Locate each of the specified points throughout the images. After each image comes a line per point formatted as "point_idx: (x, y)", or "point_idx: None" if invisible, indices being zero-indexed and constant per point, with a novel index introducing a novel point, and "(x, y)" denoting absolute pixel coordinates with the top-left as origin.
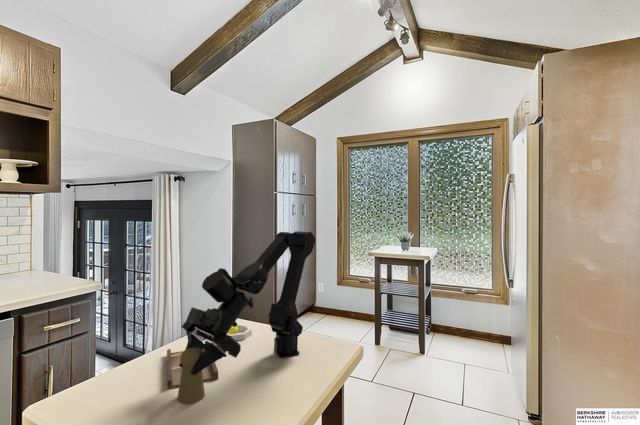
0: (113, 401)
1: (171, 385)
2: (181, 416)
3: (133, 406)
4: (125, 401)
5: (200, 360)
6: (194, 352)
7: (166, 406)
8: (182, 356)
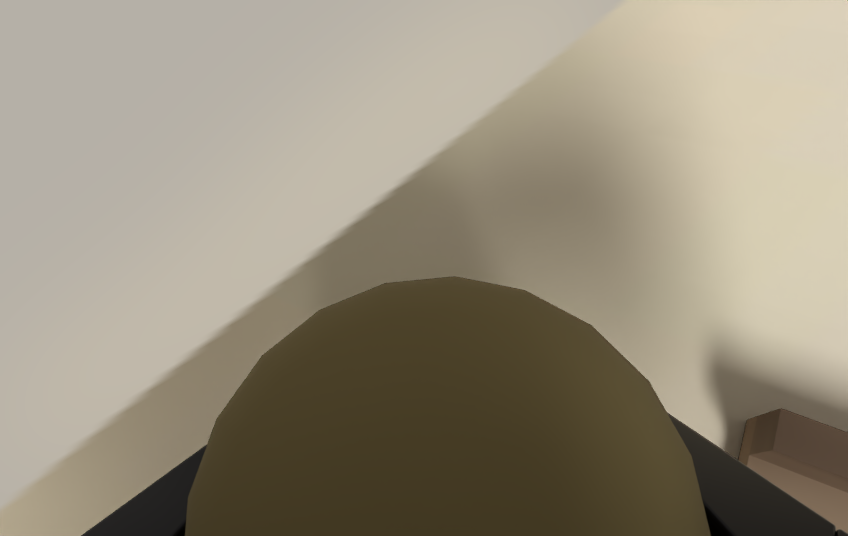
0: (797, 89)
1: (750, 449)
2: (267, 331)
3: (636, 157)
4: (745, 138)
5: (96, 528)
6: (259, 489)
7: None
8: (430, 280)
